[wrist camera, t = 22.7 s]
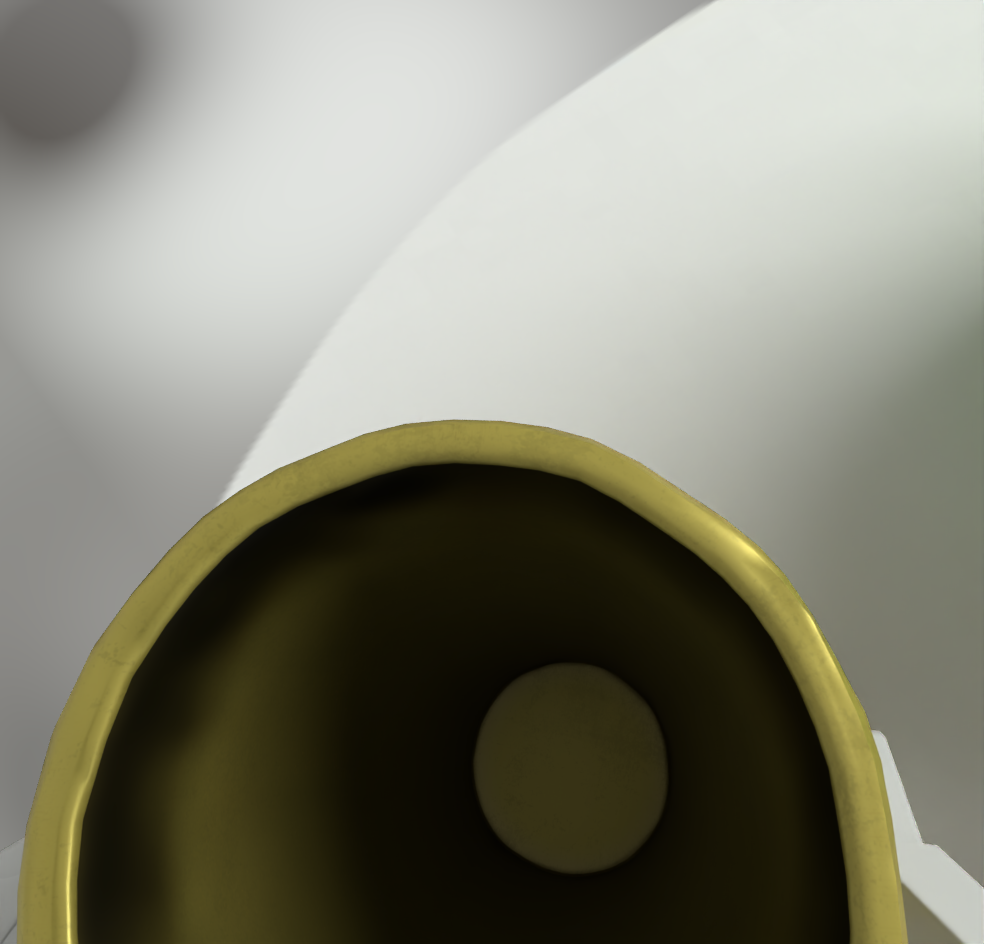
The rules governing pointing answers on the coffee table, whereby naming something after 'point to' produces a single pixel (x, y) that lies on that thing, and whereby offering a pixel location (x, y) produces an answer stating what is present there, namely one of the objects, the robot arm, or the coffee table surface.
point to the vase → (462, 721)
